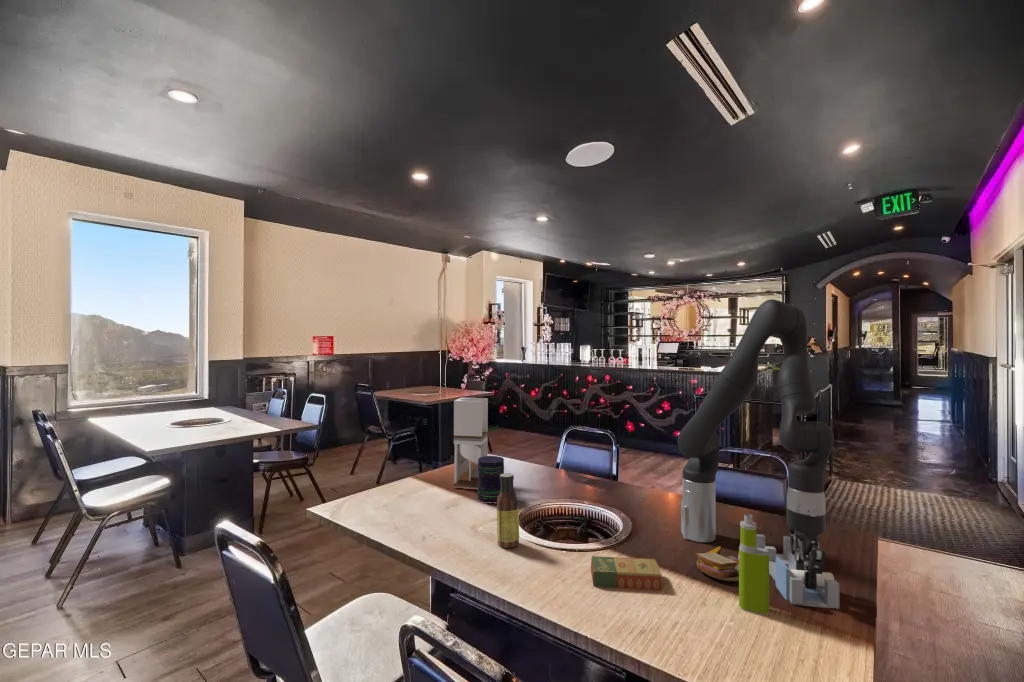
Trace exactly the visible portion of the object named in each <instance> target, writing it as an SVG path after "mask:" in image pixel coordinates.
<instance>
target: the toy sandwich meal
mask: <svg viewBox="0 0 1024 682" xmlns="http://www.w3.org/2000/svg"><path fill="white" fill-rule="evenodd" d="M721 552H722V547H721V546H717V547H715V548H714V549H711V550H709V551H707V552H704V553H703V552H701V553H699V552H696V553H695V555H696V556H697V560H696V565H697V569H699V570H700V571H701V572H702V573H704V574H706V576H708V577H709V578H710V577H711V578H712V579H717V580H718V581H725V582H739V559H738V557H735V556H733V555H726V556H723V555H722V554H721Z"/></svg>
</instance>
